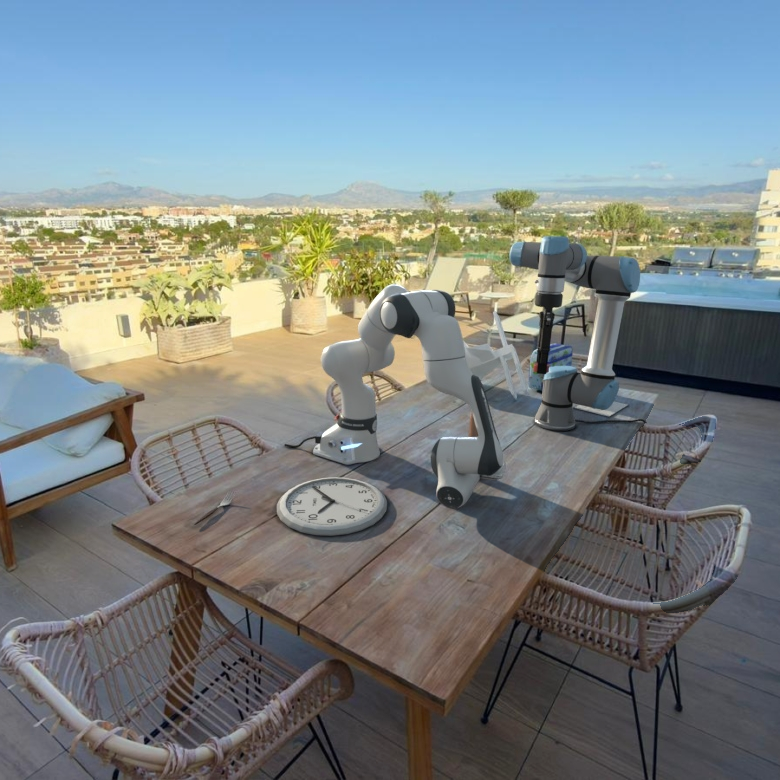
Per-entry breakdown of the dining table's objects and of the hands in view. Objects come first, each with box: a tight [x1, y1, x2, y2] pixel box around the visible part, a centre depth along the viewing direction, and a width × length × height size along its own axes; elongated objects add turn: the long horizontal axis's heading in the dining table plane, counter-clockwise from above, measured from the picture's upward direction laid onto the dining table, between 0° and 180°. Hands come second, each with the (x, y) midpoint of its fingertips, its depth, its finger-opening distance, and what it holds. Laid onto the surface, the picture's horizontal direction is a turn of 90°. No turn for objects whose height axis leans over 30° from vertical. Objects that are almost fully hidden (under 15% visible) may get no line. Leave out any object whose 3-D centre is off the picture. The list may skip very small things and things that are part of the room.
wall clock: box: [276, 476, 388, 537], centre depth 142 cm, size 30×2×30 cm
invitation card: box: [573, 401, 629, 418], centre depth 226 cm, size 21×1×15 cm
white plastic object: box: [463, 310, 531, 400], centre depth 245 cm, size 37×45×31 cm
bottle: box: [468, 410, 478, 437], centre depth 158 cm, size 5×5×26 cm
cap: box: [533, 363, 549, 373], centre depth 156 cm, size 4×4×2 cm
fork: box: [193, 490, 237, 526], centre depth 138 cm, size 3×16×2 cm, turn 160°
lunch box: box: [528, 343, 574, 392], centre depth 249 cm, size 26×11×21 cm, turn 134°
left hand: (475, 454), depth 160 cm, fingers closed on bottle, 5 cm apart
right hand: (540, 371), depth 156 cm, fingers closed on cap, 4 cm apart
